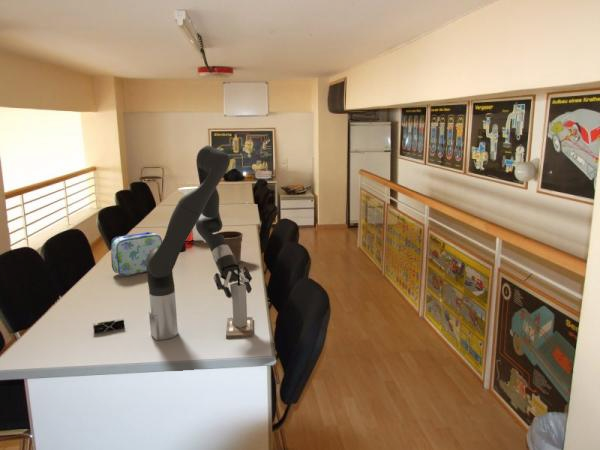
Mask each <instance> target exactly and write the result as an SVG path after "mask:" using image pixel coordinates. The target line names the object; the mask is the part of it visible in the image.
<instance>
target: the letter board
mask: <svg viewBox="0 0 600 450" xmlns="http://www.w3.org/2000/svg"><path fill="white" fill-rule="evenodd" d="M232 320H233V317H227V320H226V321H227V322H226V332H225V339H239V338H240V339H242V338H254V333H253V332H254V330H253V329H254V326H253V323H254V322H253V316H247V326H245V327H242V328H238V327H236V326H234V325H232Z"/></svg>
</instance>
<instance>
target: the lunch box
mask: <svg viewBox="0 0 600 450" xmlns="http://www.w3.org/2000/svg"><path fill="white" fill-rule="evenodd" d="M162 241H163V239H162V236H160V235H159V234H157V233H154V232H150V231H145V232H141V233H135V234H124V235H119V236H115V237H114V238H112V239H111V243H110V244H111V245H110V246H111V248H110V249H111V250H110V251H111V252H110V253H111V254H110V255H111V256H110V257H111V258H110V259H111V267H112V271H113V273H115V274H118V275H120V276H121V277H129V276H132V275H137V274H141V273H145V272H146V273H147V268H146V258H147V256H148V254H149V253H150V252H151V251H152V250H154V249H157V248H159V246H160V245H161V243H162Z"/></svg>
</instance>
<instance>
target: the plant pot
mask: <svg viewBox="0 0 600 450" xmlns="http://www.w3.org/2000/svg"><path fill="white" fill-rule="evenodd" d="M215 234H221V235H223V236H224V238H225V240H226V242H227V244H228V246H229V248H230V250H231V252H232V254H233V256H234V258H235V260H236V263H237V265H238V264H239V263H241V259H242V257H241V255H242V242H243V236H244V233H243V232H241V231H235V230H227V231H226V230H225V231H219V232H216V233H215Z"/></svg>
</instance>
